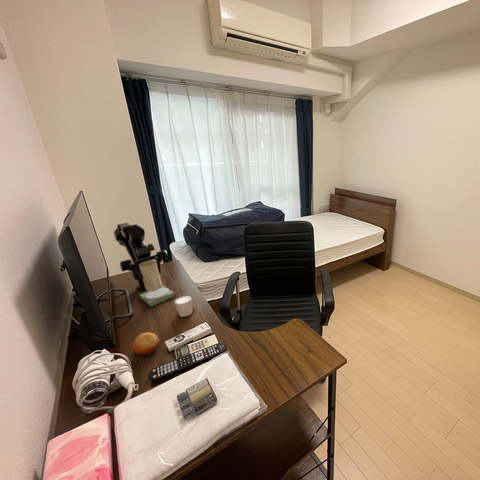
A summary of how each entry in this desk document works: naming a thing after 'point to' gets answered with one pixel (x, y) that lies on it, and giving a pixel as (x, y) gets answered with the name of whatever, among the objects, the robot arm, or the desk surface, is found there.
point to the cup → (150, 275)
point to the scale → (157, 296)
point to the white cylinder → (184, 306)
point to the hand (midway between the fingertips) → (151, 275)
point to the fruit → (145, 343)
